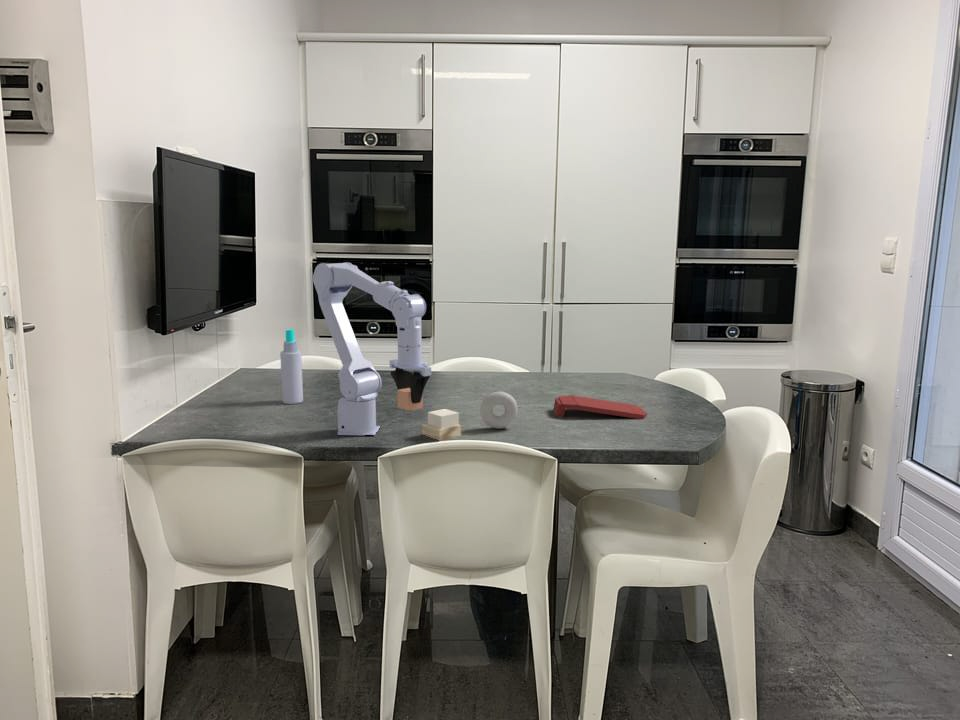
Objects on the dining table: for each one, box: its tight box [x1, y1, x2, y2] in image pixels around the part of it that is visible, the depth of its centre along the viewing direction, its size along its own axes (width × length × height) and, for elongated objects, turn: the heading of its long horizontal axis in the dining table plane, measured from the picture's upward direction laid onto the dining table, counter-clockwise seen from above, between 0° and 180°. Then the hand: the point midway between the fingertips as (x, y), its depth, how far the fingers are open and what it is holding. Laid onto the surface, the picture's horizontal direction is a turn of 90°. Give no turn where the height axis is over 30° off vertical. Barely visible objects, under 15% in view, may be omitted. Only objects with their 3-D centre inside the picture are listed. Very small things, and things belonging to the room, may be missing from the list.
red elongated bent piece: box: [552, 395, 648, 420], centre depth 208 cm, size 12×5×25 cm
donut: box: [479, 391, 519, 430], centre depth 191 cm, size 10×4×10 cm, turn 96°
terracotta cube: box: [396, 388, 424, 411], centre depth 177 cm, size 4×4×4 cm
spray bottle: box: [279, 328, 304, 405], centre depth 218 cm, size 6×6×22 cm
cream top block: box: [427, 408, 460, 429], centre depth 184 cm, size 6×6×3 cm
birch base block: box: [421, 422, 462, 441], centre depth 185 cm, size 7×7×3 cm
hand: (410, 400), depth 177 cm, fingers closed on terracotta cube, 4 cm apart
